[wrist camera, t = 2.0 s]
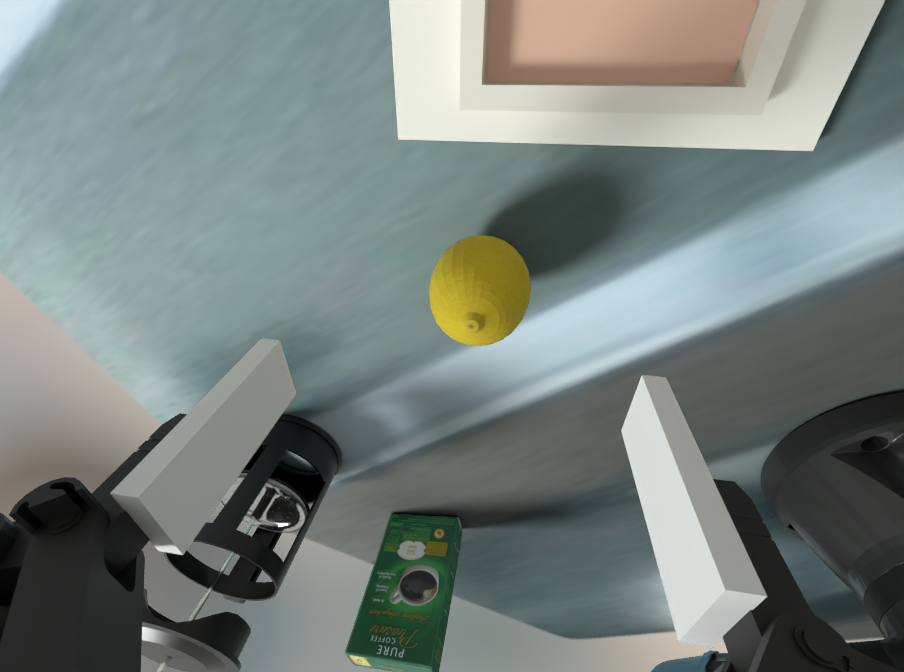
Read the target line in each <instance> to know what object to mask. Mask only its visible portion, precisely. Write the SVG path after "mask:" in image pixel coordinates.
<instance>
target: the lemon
mask: <svg viewBox="0 0 904 672" xmlns="http://www.w3.org/2000/svg"><path fill="white" fill-rule="evenodd" d="M530 291H531V283H530V277H529V271H528V269H527V266H526V264H525V262H524V260H523V258H522V257H521V255H520V254H519V253H518V252H517V251H516V249H515V248H514V247H513V246H511V245H510V244H508V243H507V242H506V241H504V240H501V239H499V238H496V237H493V236H485V235H479V236H471V237H468V238H466V239H463V240H461V241H458V242H457V243H455V244H454V245H453V246H451V247H450V248H449V249H447V250H446V252H445V253H444V254H443V255H442V257H441V258H440V259H439V260H438V262H437V264H436V266H435V269H434V271H433V274H432V277H431V282H430V291H429V298H430V304H431V310H432V313H433V315H434V317H435V320H436V322H437V324H438V325H439V326H440V327H441V329H442V330H443V331H444V332H445V333H446V334H447V335H449V336H450V337H451V338H452V339H454V340H456V341H458V342H460V343H464V344H467V345H473V346H483V345H489V344H493V343H495V342H498V341H500V340H502V339H504V338H505V337H506V336H508V335H509V334H510V333H512V332H513V330H514V329H515V328H516V327H517V326H518V324H519V323H520V322H521V320H522V318H523V316H524V314H525V311H526V309H527V307H528V304H529V298H530Z"/></svg>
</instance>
